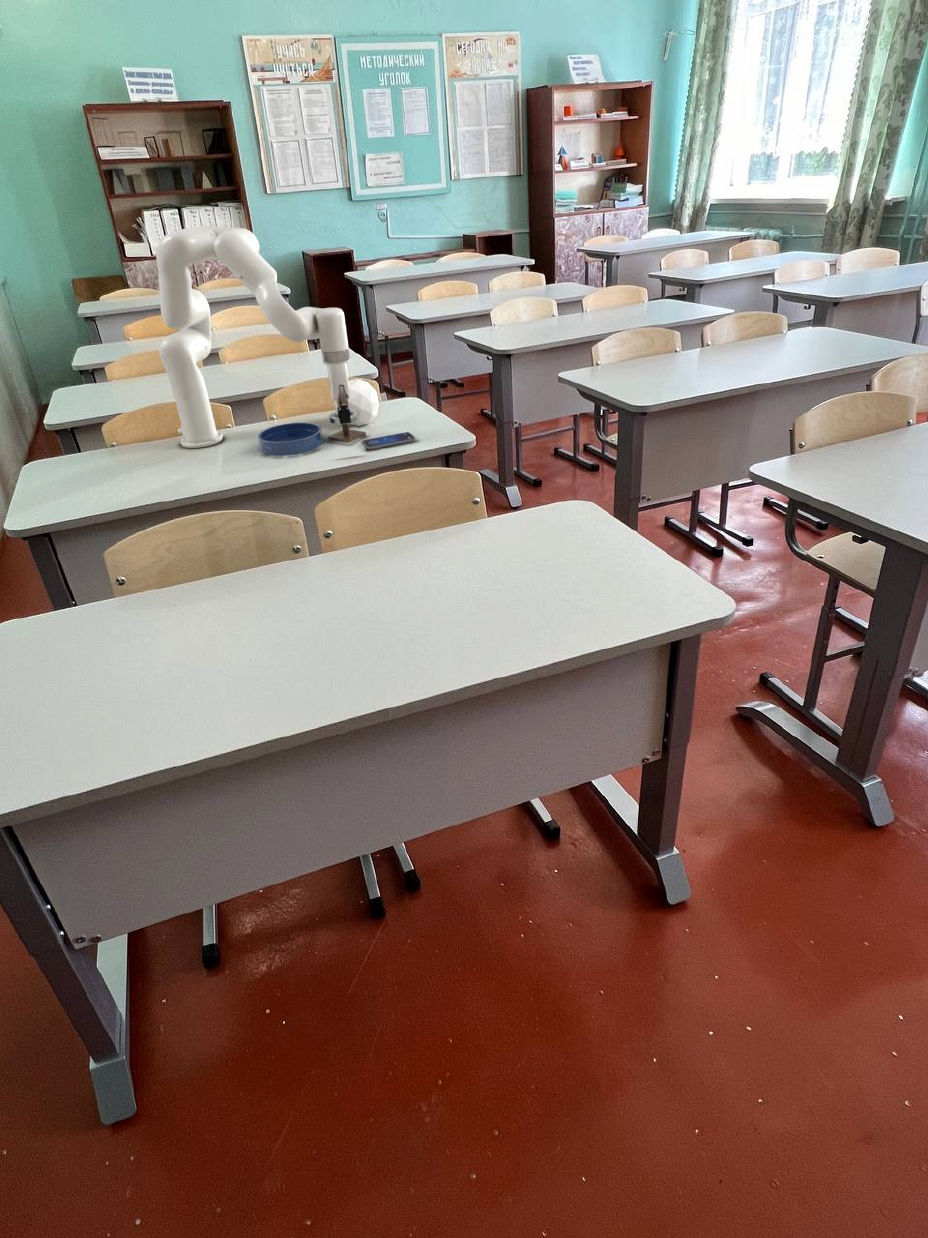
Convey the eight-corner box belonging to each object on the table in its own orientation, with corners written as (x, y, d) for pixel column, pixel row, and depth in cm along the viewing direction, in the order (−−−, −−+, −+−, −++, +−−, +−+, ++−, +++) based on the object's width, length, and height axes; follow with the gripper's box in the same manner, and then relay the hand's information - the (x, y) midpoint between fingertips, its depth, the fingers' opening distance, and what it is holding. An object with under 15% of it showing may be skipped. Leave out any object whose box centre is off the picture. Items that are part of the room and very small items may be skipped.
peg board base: (328, 441, 224) (324, 416, 220) (345, 433, 230) (342, 409, 226) (349, 444, 220) (345, 419, 216) (366, 436, 226) (363, 411, 222)
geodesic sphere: (346, 395, 244) (331, 366, 231) (388, 395, 242) (376, 365, 228) (338, 435, 239) (322, 407, 226) (381, 435, 236) (368, 406, 223)
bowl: (247, 453, 220) (244, 437, 218) (291, 434, 233) (288, 419, 230) (293, 461, 211) (290, 445, 209) (336, 441, 224) (333, 426, 222)
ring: (328, 417, 225) (327, 412, 224) (356, 414, 226) (356, 408, 225) (331, 425, 218) (330, 420, 217) (360, 422, 219) (359, 416, 218)
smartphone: (417, 438, 219) (367, 447, 214) (417, 441, 219) (367, 451, 215) (408, 431, 224) (360, 440, 220) (409, 434, 225) (360, 443, 220)
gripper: (320, 351, 215) (329, 415, 225) (324, 363, 202) (334, 431, 212) (346, 348, 217) (354, 412, 226) (352, 360, 203) (361, 427, 213)
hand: (345, 421), depth 219 cm, fingers closed on ring, 1 cm apart
